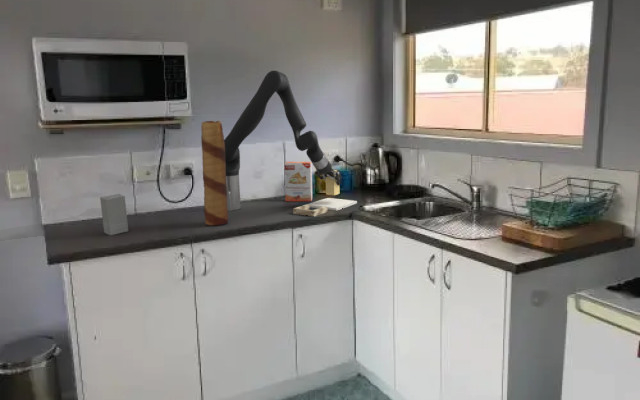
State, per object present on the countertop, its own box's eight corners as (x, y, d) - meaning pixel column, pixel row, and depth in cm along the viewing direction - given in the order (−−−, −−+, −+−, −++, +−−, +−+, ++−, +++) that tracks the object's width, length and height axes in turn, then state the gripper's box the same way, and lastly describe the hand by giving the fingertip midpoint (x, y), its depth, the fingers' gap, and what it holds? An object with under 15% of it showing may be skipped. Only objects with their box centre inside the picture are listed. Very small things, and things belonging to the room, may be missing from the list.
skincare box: (122, 229, 222) (119, 193, 219) (129, 232, 217) (126, 195, 214) (102, 233, 216) (98, 196, 213) (109, 236, 211) (105, 198, 208)
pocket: (313, 216, 239) (313, 211, 238) (293, 213, 245) (292, 208, 245) (327, 211, 248) (327, 206, 248) (307, 209, 255) (306, 204, 254)
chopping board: (336, 210, 250) (336, 208, 250) (306, 206, 260) (306, 204, 260) (356, 203, 266) (356, 201, 266) (327, 200, 276) (327, 197, 276)
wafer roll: (229, 220, 235) (223, 120, 226) (228, 225, 225) (223, 121, 216) (206, 221, 233) (199, 121, 225) (204, 227, 223) (197, 122, 214)
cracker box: (285, 201, 274) (283, 162, 270) (287, 199, 280) (285, 161, 275) (311, 202, 272) (310, 162, 268) (312, 199, 278) (311, 161, 274)
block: (334, 195, 258) (333, 171, 256) (326, 194, 261) (325, 171, 259) (339, 193, 262) (339, 170, 260) (331, 192, 265) (330, 169, 263)
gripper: (336, 157, 248) (349, 178, 260) (311, 156, 256) (325, 176, 268) (330, 169, 245) (344, 190, 257) (305, 168, 253) (320, 188, 265)
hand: (334, 183), depth 262 cm, fingers closed on block, 5 cm apart
